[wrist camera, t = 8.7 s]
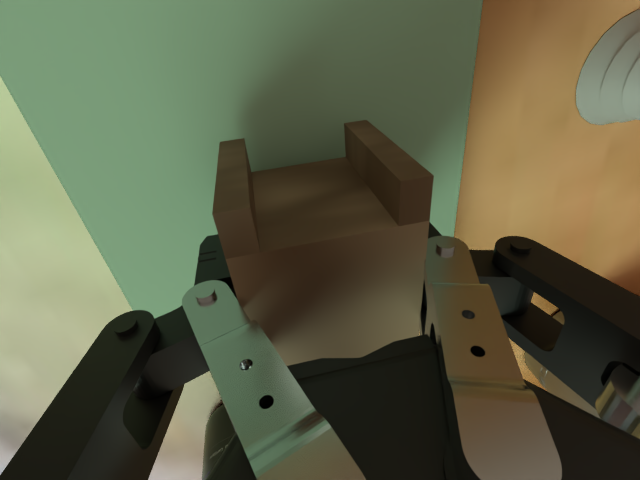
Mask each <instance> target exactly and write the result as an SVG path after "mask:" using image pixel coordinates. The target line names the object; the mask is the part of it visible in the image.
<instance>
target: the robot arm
mask: <svg viewBox="0 0 640 480" xmlns="http://www.w3.org/2000/svg"><path fill="white" fill-rule="evenodd" d="M423 274H424V283H423V294H422V304H421V312H420V315H419V330H420V336H416V337H411V338H407V339H403V340H398V341H394V342H392V343H390V344H388V345H386V346H384V347H382V348H380V349H378V350H376V351H374V352H372V353H370V354H368V355H366V356H363V357H360V358H320V359H315V360H311V361H307V362H302V363H298V364H294V365H289V366H286V365H285V363H284V362H283V360H282V358H281V357H280V355H279V354H278V352H277V351H276V349H275V348H274V346H273V345H272V343H271V342H270V340H269V339H268V337H267V336H266V334H265V333H264V331H263V330H262V328H261V327H260V325H259V324H258V322H257V321H256V320H252V321H250V319H249V317H248V316H247V314H246V313H245V311H244V310H243V308H242V306H241V305H240V303H239V302H238V299H237V296H236V293H235V289H234V286H233V282H232V279H231V276H230V272H229V269H228V266H227V262H226V259H225V255H224V252H223V249H222V245H221V242H220V239H219V235H218V234H216V235H210V236H207V237H206V238H205V239H204V240H203V242H202V243H201V244H200V248H199V256H198V263H197V269H196V276H195V283H194V286H193V287H192V288H190V289H189V290H188V291H187V292H186V293H185V295H184V296H183V298H182V305H181V306H180V307H179V308H177V309H175V310H173V311H171V312H169V313H166V314H164V315H162V316H159V317H157V318H155V319H154V317H153V315H152V314H151V313H150V312H148V311H145V310H134V311H130V312H127V313H124V314H122V315H120V316H118V317H116V318H115V319H113V320H112V321H111V322H109V323H108V324H107V325H106V326H105V327H104V329H103V330H102V331H101V333H100V334H99V336H98V337H97V338H96V340H95V341H94V343H93V344H92V346H91V347H90V348H89V350H88V351H87V353H86V354H85V356H84V357H83V358H82V360H81V361H80V363H79V364H78V366H77V367H76V368H75V370H74V371H73V373H72V374H71V375H70V377H69V378H68V380H67V381H66V383H65V384H64V385H63V387H62V388H61V390H60V391H59V393H58V394H57V395H56V397H55V398H54V400H53V401H52V403H51V404H50V405H49V407H48V408H47V410H46V411H45V412H44V414H43V415H42V417H41V418H40V420H39V421H38V422H37V424H36V425H35V427H34V428H33V430H32V431H31V432H30V434H29V435H28V437H27V438H26V440H25V441H24V442H23V444H22V445H21V447H20V448H19V449H18V451H17V452H16V454H15V455H14V457H13V458H12V459H11V461H10V462H9V464H8V465H7V467H6V468H5V469H4V471H3V472H2V474H1V475H0V480H148V478H149V475H150V473H151V470H152V468H153V465H154V462H155V460H156V457H157V455H158V452H159V450H160V447H161V444H162V442H163V439H164V437H165V434H166V432H167V429H168V426H169V424H170V421H171V419H172V416H173V414H174V411H175V408H176V406H177V403H178V401H179V398H180V396H181V393H182V390H183V387H184V384H185V383H187V382H189V381H191V380H193V379H195V378H196V377H198V376H200V375H202V374H204V373H206V372H208V371H210V373H211V375H212V377H213V380H214V382H215V384H216V387H217V389H218V391H219V394H220V396H221V399H222V401H223V403H224V406H225V408H226V410H227V413H228V415H229V417H230V420H231V422H232V424H233V427H234V429H235V434H234V435H233V437H232V439H231V440H230V442H229V443H228V445H227V447H226V448H225V450H224V451H223V453H222V455H221V456H220V458H219V459H218V461H217V463H216V464H215V466H214V467H213V469H212V471H211V472H210V474H209V475H208V477H207V479H206V480H640V296H637V295H635V294H633V293H631V292H629V291H628V290H626V289H624V288H622V287H620V286H618V285H616V284H614V283H613V282H611V281H609V280H607V279H605V278H603V277H601V276H599V275H598V274H596V273H594V272H592V271H590V270H588V269H586V268H584V267H583V266H581V265H579V264H577V263H575V262H573V261H571V260H569V259H568V258H566V257H564V256H562V255H560V254H558V253H556V252H555V251H553V250H551V249H549V248H547V247H545V246H543V245H541V244H540V243H538V242H536V241H534V240H531V239H528V238H525V237H519V236H508V237H503V238H501V239H499V240H498V241H497V242H496V244H495V248H494V250H469V248H468V246H467V245H466V244H465V243H464V242H463V241H461V240H459V239H457V238H454V237H450V236H442V235H441V234H440V233H439V231H438V230H437V229H436V228H435V227H434V226H433V225H432V224H431V223H430V222H429V232H428V242H427V252H426V260H425V261H424V272H423ZM534 292H535V293H537V294H538V295H540V296H541V297H543V298H544V299H546V300H548V301H549V302H551V303H552V304H554V305H555V306H556V307H558V308H559V309H560V312H558V313H557V314H555V315H554V316H553V317H551V316H550V315H548V314H547V313H546V312H544V311H543V310H541V309H540V308H538V307H537V306H535V305H534V304H533V303H531V299H532V296H533V293H534ZM508 337H509V338H510V339H511V340H512V341H513V342H515V343H516V344H517V345H518V346H519V347H521V348H522V349H523V350H524V351H525V352H526V353H525V363H526V365H527V367H528V368H529V370H530V371H531V372H532V373H533V374H534V376H535V377H536V378H537V379H538V380H539V382H540V383H541V385H542V386H543V387H544V388H545V389H546V390H547V391H548V392H547V391H545V390H544V389H542V388H540V387H538V386H536V385H534V384H532V383H530V382H528V381H526V380H524V379H523V377H522V374H521V372H520V369H519V366H518V363H517V360H516V358H515V355H514V352H513V349H512V346H511V343H510V341H509V338H508Z"/></svg>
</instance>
